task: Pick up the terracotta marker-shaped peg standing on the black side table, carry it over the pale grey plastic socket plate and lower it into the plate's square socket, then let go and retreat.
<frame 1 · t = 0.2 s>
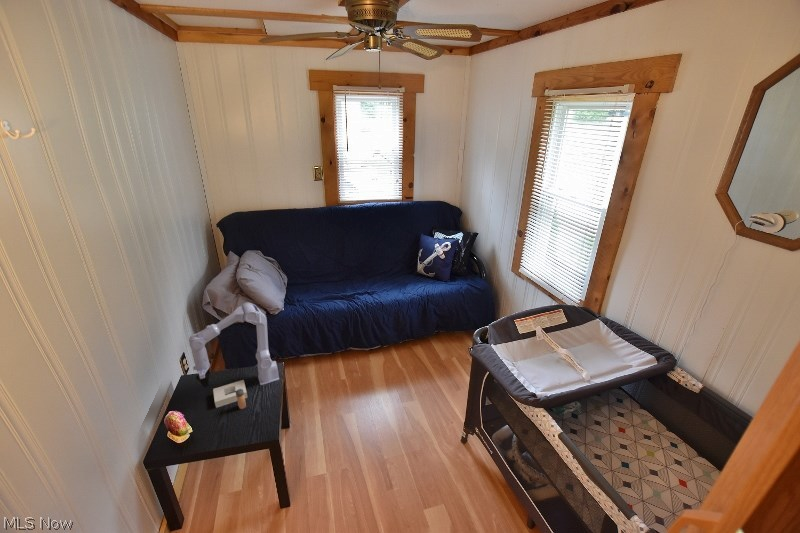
hand: (206, 381, 175), 10 cm above the table, fingers open, 7 cm apart
peg: (242, 406, 173), on the table
socket plate: (231, 396, 179), on the table
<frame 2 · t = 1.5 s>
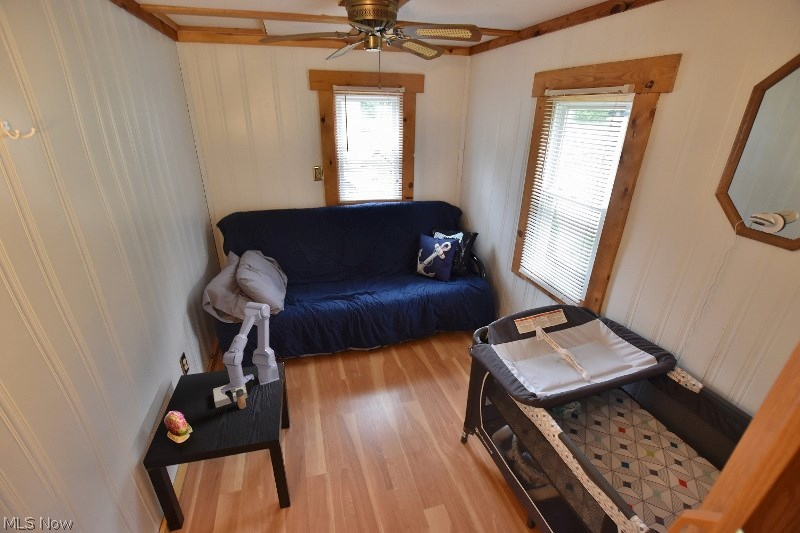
hand: (240, 398, 171), 5 cm above the table, fingers open, 7 cm apart
nothing on the table moved.
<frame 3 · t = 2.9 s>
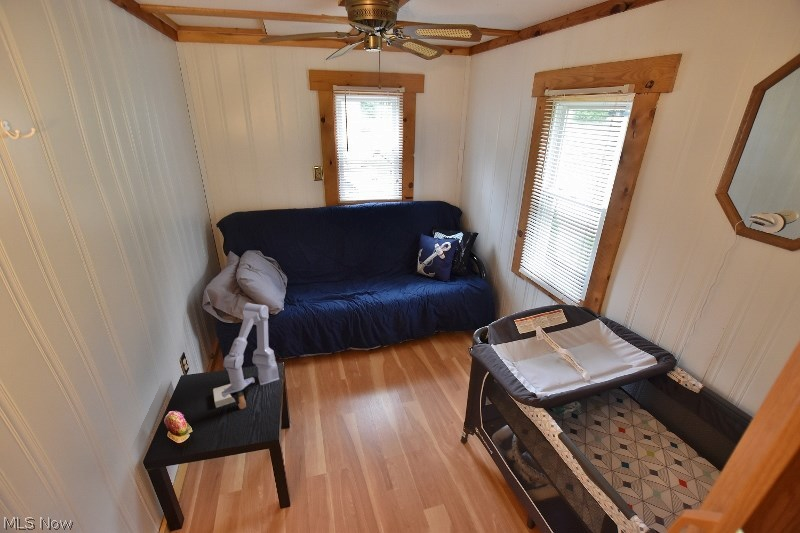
hand: (241, 400, 172), 3 cm above the table, fingers closed on peg, 3 cm apart
peg: (242, 406, 173), on the table, touching gripper
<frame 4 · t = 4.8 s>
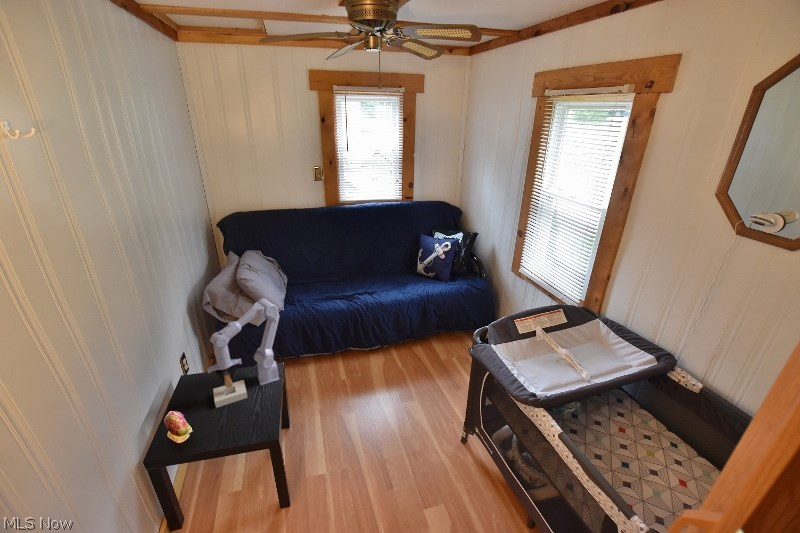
hand: (227, 379, 175), 10 cm above the table, fingers closed on peg, 3 cm apart
peg: (229, 385, 176), point 7 cm above the table, touching gripper
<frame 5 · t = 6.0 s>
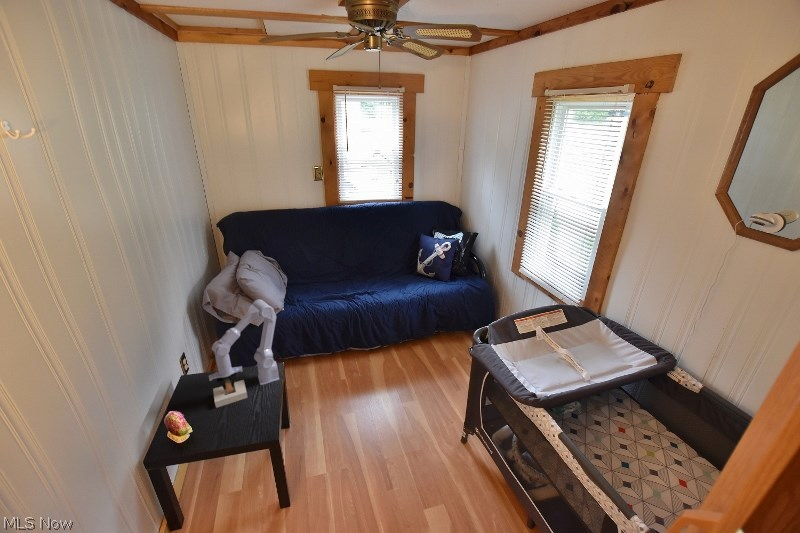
hand: (229, 387, 177), 6 cm above the table, fingers closed on peg, 3 cm apart
peg: (230, 392, 179), point 2 cm above the table, touching gripper
when the fingers open (5 cm above the table, at t = 7.0 s): peg drops 1 cm, resting in socket plate.
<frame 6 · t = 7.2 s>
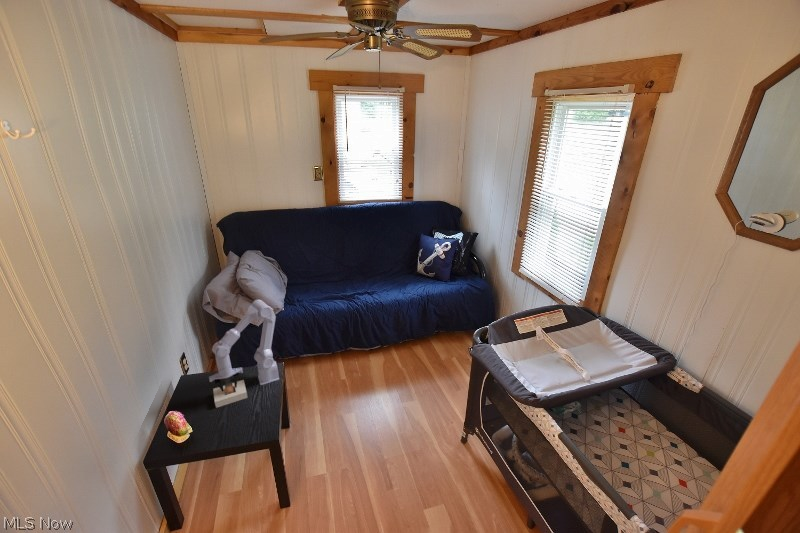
hand: (229, 388, 177), 5 cm above the table, fingers open, 5 cm apart
peg: (231, 396, 179), resting in socket plate
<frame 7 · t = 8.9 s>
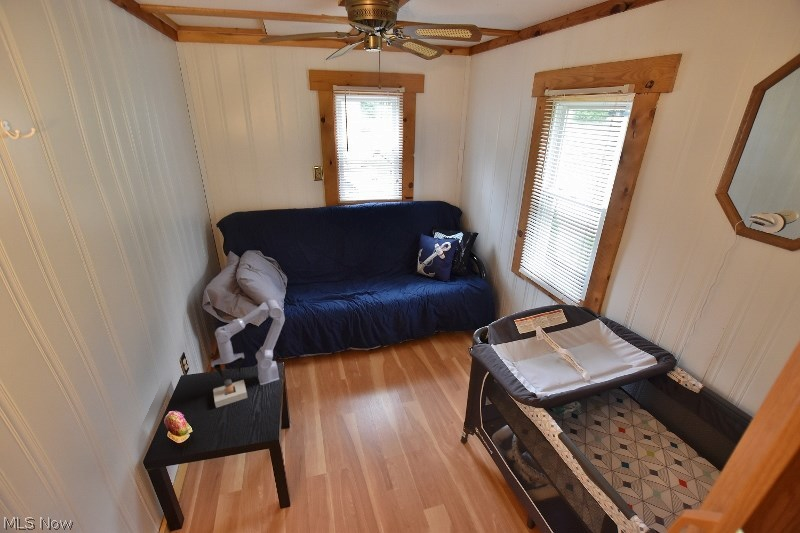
hand: (230, 373, 180), 10 cm above the table, fingers open, 7 cm apart
nothing on the table moved.
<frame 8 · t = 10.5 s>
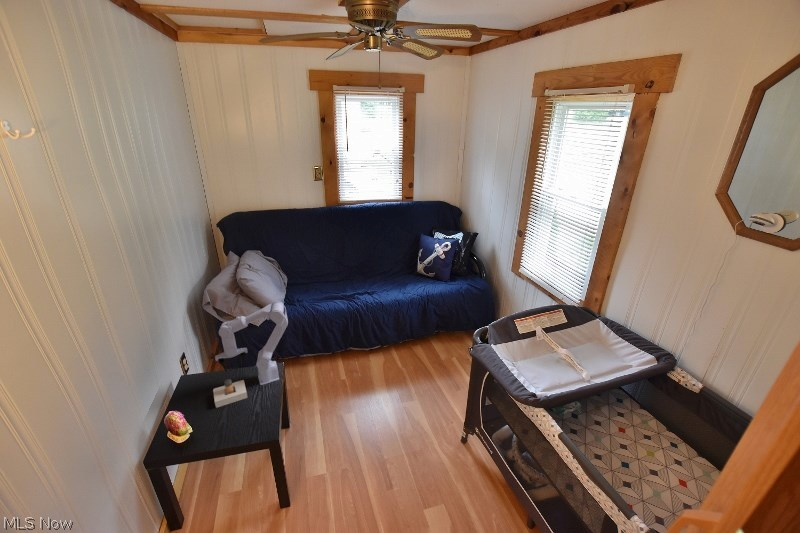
hand: (234, 367, 185), 9 cm above the table, fingers open, 7 cm apart
nothing on the table moved.
at the end: peg 0.0 cm off-centre on the socket plate, point 0.0 cm above the socket plate's base; peg tilted 0°; the gripper is holding nothing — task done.
